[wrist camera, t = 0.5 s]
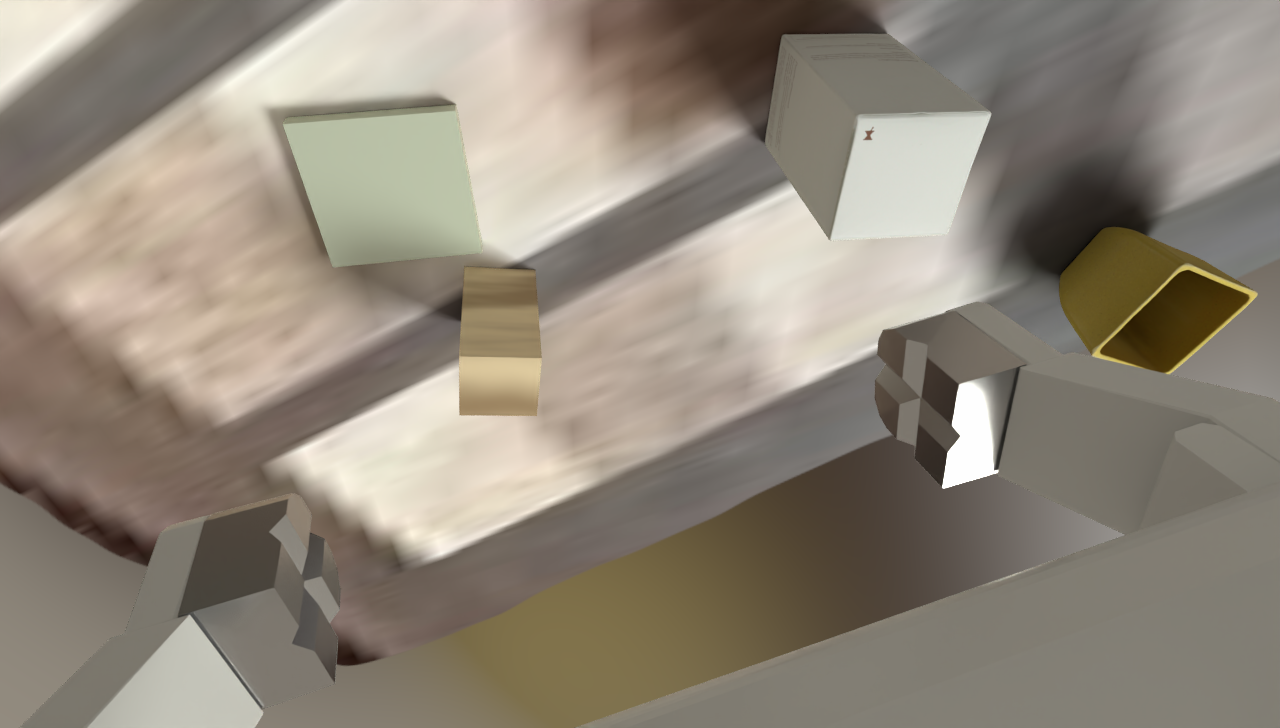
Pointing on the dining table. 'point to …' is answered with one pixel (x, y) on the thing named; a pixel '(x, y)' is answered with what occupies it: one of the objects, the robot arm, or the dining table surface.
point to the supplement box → (871, 135)
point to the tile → (387, 183)
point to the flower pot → (1146, 300)
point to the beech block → (499, 343)
